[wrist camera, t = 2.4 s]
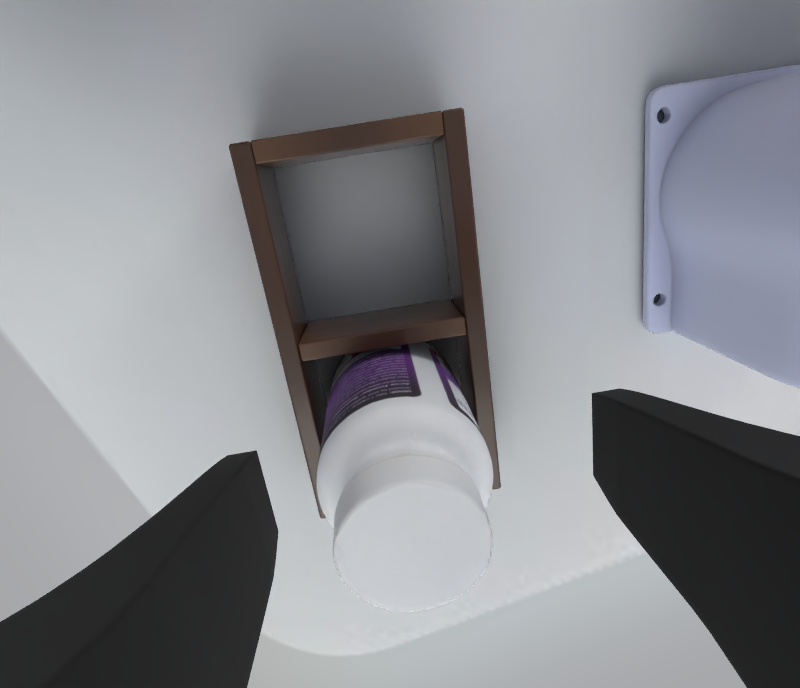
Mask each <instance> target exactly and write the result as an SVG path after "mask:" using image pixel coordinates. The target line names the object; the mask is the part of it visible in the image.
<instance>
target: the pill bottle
mask: <svg viewBox="0 0 800 688" xmlns="http://www.w3.org/2000/svg"><path fill="white" fill-rule="evenodd" d="M492 486H493V467H492V460H491V457H490V453H489V450H488V448H487V445H486V442H485V440H484V437H483V435H482V433H481V432H480V429H479V427H478V425H477V423H476V421H475V419H474V417H473V414H472V412H471V410H470V408H469V406H468V404H467V401H466V400H465V397H464V395H463V393H462V391H461V389H460V387H459V385H458V383H457V381H456V379H455V377H454V375H453V373H452V371H451V369H450V367H449V366H448V364H447V362H446V361H445V359H444V358H443V357H442V356H441V355H440V354H439V353H438V352H437V351H436V350H435V349H434V348H433V347H431V346H430V345H428V344H427V343H425V342H419V343H413V344H407V345H401V346H395V347H389V348H383V349H376V350H370V351H364V352H358V353H352V354H347V355H346V356H345V357H344V358H343V360H342V361H341V362H340V364H339V366H338V367H337V369H336V371H335V374H334V376H333V379H332V383H331V387H330V392H329V399H328V406H327V413H326V419H325V425H324V431H323V437H322V443H321V448H320V454H319V459H318V468H317V494H318V499H319V502H320V506H321V508H322V511H323V513H324V515H325V517H326V519H327V520H328V522H329V524H330V525H331V527H332V528H333V529H334V539H333V556H334V562H335V566H336V569H337V571H338V574H339V576H340V577H341V579H342V581H343V582H344V584H345V585H346V586H347V587H348V588H349V589H350V590H351V591H352V592H353V593H354V594H355V595H356V596H358V597H359V598H361V599H362V600H364V601H366V602H367V603H370V604H372V605H375V606H377V607H379V608H383V609H387V610H392V611H398V612H416V611H424V610H428V609H432V608H436V607H439V606H442V605H445V604H447V603H449V602H451V601H453V600H455V599H457V598H459V597H460V596H461V595H463V594H464V593H465V592H467V591H468V590H469V589H470V588H472V587H473V586H474V585H475V583H476V582H477V581H478V580H479V579H480V577H481V576H482V574H483V573H484V571H485V569H486V568H487V565H488V563H489V560H490V557H491V553H492V547H493V536H492V529H491V525H490V522H489V519H488V516H487V513H486V510H485V509H486V507H487V505H488V503H489V500H490V496H491V492H492Z"/></svg>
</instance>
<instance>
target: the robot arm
mask: <svg viewBox="0 0 800 688" xmlns="http://www.w3.org/2000/svg"><path fill="white" fill-rule="evenodd" d="M660 109H661V110H662V111H663V112H664V115H665V117H664V120H663V121H662V123H660V122H659V121H658V120H657V114H658V112H659V110H660ZM659 293H660V300H659V301H658V302H657V303H654V302H653V300H654V297H655V296H656V295H657V294H659ZM643 326H644V328H645V329H646V330H648V331H650V332H652V333H657V334H658V333H664V332H670V331H673V332H675V333H677V334H680V335H682V336H684V337H686V338H688V339H690V340H692V341H694V342H696V343H699V344H701V345H703V346H705V347H707V348H709V349H711V350H713V351H715V352H718V353H720V354H722V355H724V356H726V357H728V358H730V359H732V360H735V361H737V362H739V363H741V364H743V365H745V366H747V367H749V368H751V369H754V370H756V371H758V372H760V373H762V374H764V375H766V376H768V377H770V378H773V379H775V380H777V381H780V382H782V383H785V384H788V385H791V386H794V387H797V388H800V64H797V65H791V66H784V67H778V68H772V69H765V70H759V71H753V72H746V73H740V74H734V75H727V76H721V77H715V78H708V79H702V80H696V81H689V82H683V83H677V84H670V85H664V86H661V87H658V88H656V89H654V90H652V91H651V92H650V93H649V95H648V97H647V99H646V109H645V190H644V270H643ZM592 425H593V476H594V477H595V479H596V481H597V482H598V484H599V486H600V488H601V489H602V491H603V493H604V495H605V496H606V498H607V500H608V501H609V503H610V504H611V506H612V508H613V509H614V511H615V512H616V514H617V515H618V517H619V518H620V519H621V521H622V522H623V523H624V524H625V526H626V527H627V528H628V529H629V531H630V532H631V533H632V534H633V536H634V537H635V538H636V539H637V541H638V542H639V543H640V544H641V546H642V547H643V548H644V549H645V551H646V552H647V553H648V554H649V556H650V557H651V558H652V559H653V561H654V562H655V563H656V564H657V565H658V567H659V568H660V569H661V570H662V572H663V573H664V574H665V575H666V576H667V578H668V579H669V580H670V581H671V582H672V584H673V585H674V586H675V588H676V589H677V590H678V591H679V593H680V594H681V595H682V596H683V597H684V599H685V600H686V601H687V602H688V604H689V605H690V606H691V607H692V609H693V610H694V611H695V613H696V614H697V615H698V617H699V618H700V619H701V621H702V622H703V623H704V625H705V626H706V627H707V629H708V630H709V631H710V633H711V634H712V636H713V637H714V639H715V640H716V642H717V643H718V645H719V646H720V648H721V649H722V651H723V652H724V654H725V655H726V657H727V658H728V660H729V661H730V663H731V664H732V666H733V667H734V669H735V670H736V672H737V673H738V675H739V676H740V678H741V679H742V681H743V682H744V684H745V685H746V687H747V688H800V436H796V435H792V434H788V433H784V432H780V431H776V430H772V429H768V428H764V427H760V426H756V425H752V424H748V423H744V422H741V421H737V420H733V419H730V418H726V417H723V416H719V415H716V414H712V413H709V412H705V411H702V410H699V409H695V408H692V407H688V406H685V405H682V404H678V403H675V402H672V401H668V400H665V399H661V398H658V397H654V396H651V395H647V394H643V393H639V392H635V391H631V390H625V389H615V390H609V391H603V392H597V393H592ZM277 540H278V528H277V525H276V521H275V517H274V514H273V510H272V506H271V502H270V499H269V495H268V491H267V488H266V484H265V480H264V476H263V473H262V469H261V465H260V462H259V458H258V454H257V451H251V452H245V453H239V454H234V455H228V456H226V457H225V458H223V459H222V460H220V461H219V462H217V463H216V464H215V465H214V466H212V467H211V468H210V469H209V470H208V471H206V472H205V473H204V474H203V475H202V476H200V477H199V478H198V479H197V480H196V481H194V482H193V483H192V484H191V485H190V486H189V487H187V488H186V489H185V490H184V491H183V492H182V493H180V494H179V495H178V496H177V497H176V498H174V499H173V500H172V501H171V502H170V503H169V504H167V505H166V506H165V507H164V508H163V509H161V510H160V511H159V512H158V513H157V514H155V515H154V516H153V517H152V518H150V519H149V520H148V521H147V522H145V523H144V524H143V525H142V526H140V527H139V528H138V529H136V530H135V531H134V532H133V533H131V534H130V535H129V536H128V537H126V538H125V539H124V540H122V541H121V542H120V543H119V544H117V545H116V546H115V547H113V548H112V549H111V550H110V551H108V552H107V553H105V554H104V555H103V556H101V557H100V558H99V559H97V560H96V561H94V562H93V563H92V564H90V565H89V566H88V567H86V568H85V569H83V570H82V571H81V572H79V573H77V574H76V575H74V576H73V577H71V578H70V579H68V580H67V581H65V582H64V583H62V584H61V585H59V586H58V587H56V588H55V589H53V590H52V591H50V592H49V593H47V594H46V595H44V596H43V597H41V598H40V599H38V600H37V601H35V602H33V603H31V604H30V605H28V606H26V607H25V608H23V609H21V610H20V611H18V612H16V613H15V614H13V615H11V616H10V617H8V618H6V619H5V620H3V621H1V622H0V688H247V685H248V681H249V677H250V672H251V669H252V664H253V661H254V656H255V652H256V648H257V644H258V640H259V636H260V632H261V628H262V624H263V620H264V616H265V611H266V607H267V603H268V599H269V595H270V590H271V586H272V582H273V577H274V569H275V560H276V551H277Z"/></svg>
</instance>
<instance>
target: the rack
mask: <svg viewBox="0 0 800 688" xmlns="http://www.w3.org/2000/svg"><path fill="white" fill-rule="evenodd" d="M432 142H433V150H434V158H435V167H436V175H437V183H438V192H439V200H440V209H441V217H442V225H443V234H444V242H445V250H446V259H447V267H448V275H449V284H450V292H451V299H445V300H439V301H433V302H427V303H421V304H415V305H408V306H402V307H396V308H390V309H384V310H378V311H372V312H366V313H360V314H354V315H347V316H341V317H335V318H329V319H323V320H317V321H311V322H308V323H307V319H306V315H305V310H304V306H303V301H302V297H301V292H300V288H299V283H298V279H297V274H296V270H295V265H294V261H293V256H292V252H291V247H290V243H289V238H288V234H287V229H286V225H285V220H284V216H283V211H282V207H281V202H280V198H279V193H278V189H277V184H276V180H275V175H274V171H273V168H277V167H283V166H289V165H296V164H302V163H308V162H315V161H321V160H327V159H333V158H340V157H346V156H352V155H359V154H365V153H371V152H378V151H384V150H390V149H396V148H403V147H409V146H415V145H422V144H428V143H432ZM229 150H230V154H231V158H232V162H233V166H234V170H235V174H236V178H237V182H238V186H239V190H240V194H241V198H242V202H243V206H244V210H245V214H246V218H247V223H248V227H249V231H250V235H251V239H252V243H253V247H254V251H255V255H256V259H257V263H258V267H259V271H260V275H261V279H262V283H263V287H264V291H265V295H266V300H267V304H268V308H269V312H270V316H271V320H272V324H273V328H274V332H275V336H276V340H277V344H278V348H279V352H280V356H281V360H282V364H283V368H284V372H285V377H286V381H287V385H288V389H289V393H290V397H291V401H292V405H293V409H294V413H295V417H296V421H297V425H298V429H299V433H300V437H301V441H302V445H303V449H304V454H305V458H306V462H307V466H308V470H309V474H310V478H311V482H312V486H313V490H314V494H315V498H316V502H317V506H318V510H319V514H320V517H321V518H326V517H325V515H324V513H323V511H322V508H321V506H320V502H319V499H318V494H317V468H318V459H319V454H320V448H321V443H322V437H323V431H324V425H325V419H326V413H327V409H326V405H325V400H324V396H323V391H322V387H321V382H320V378H319V373H318V369H317V364H316V359H322V358H328V357H334V356H340V355H346V354H352V353H358V352H364V351H370V350H376V349H383V348H389V347H395V346H401V345H407V344H413V343H419V342H425V341H431V340H437V339H443V338H449V337H455V336H456V342H457V351H458V359H459V367H460V376H461V384H462V393H463V395H464V397H465V400H466V401H467V404H468V406H469V408H470V410H471V412H472V414H473V417H474V419H475V421H476V423H477V425H478V427H479V429H480V432H481V433H482V435H483V437H484V440H485V442H486V445H487V448H488V450H489V453H490V457H491V460H492V467H493V486H492V489H498V488H500V487H501V483H500V472H499V462H498V452H497V442H496V432H495V421H494V411H493V401H492V391H491V381H490V370H489V360H488V350H487V340H486V330H485V319H484V309H483V299H482V289H481V279H480V268H479V258H478V248H477V238H476V228H475V217H474V207H473V197H472V187H471V177H470V166H469V156H468V146H467V136H466V126H465V116H464V109H463V108H456V109H449V110H444V111H442V112H441V111H436V112H430V113H423V114H417V115H411V116H404V117H398V118H392V119H385V120H379V121H373V122H366V123H360V124H354V125H347V126H341V127H335V128H328V129H322V130H316V131H309V132H303V133H297V134H290V135H284V136H278V137H271V138H265V139H258V140H252V141H251V142H249V141H247V142H240V143H234V144H230V145H229Z"/></svg>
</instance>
